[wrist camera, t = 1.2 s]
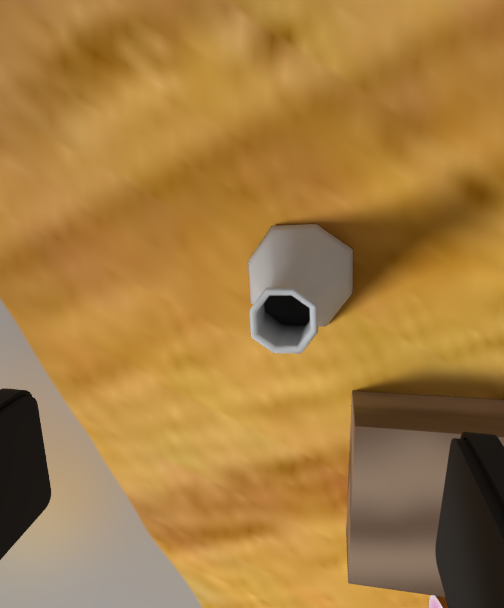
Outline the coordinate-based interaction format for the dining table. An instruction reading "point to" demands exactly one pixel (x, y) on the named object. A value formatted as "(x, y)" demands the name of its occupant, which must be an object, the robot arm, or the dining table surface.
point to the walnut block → (404, 482)
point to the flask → (297, 285)
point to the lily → (434, 602)
